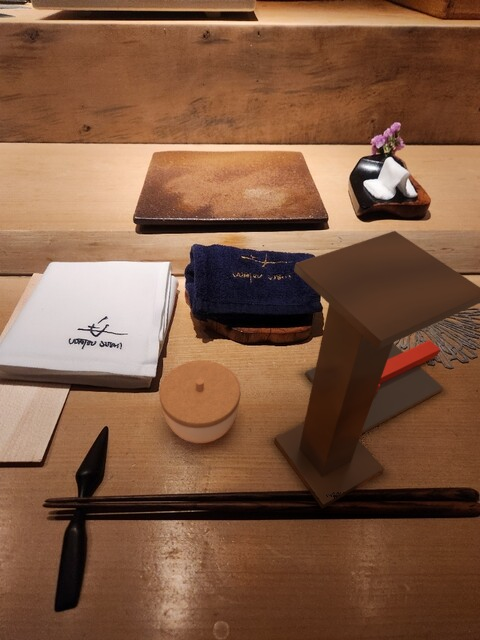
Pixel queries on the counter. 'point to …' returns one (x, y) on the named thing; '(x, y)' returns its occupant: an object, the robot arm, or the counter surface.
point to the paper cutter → (397, 393)
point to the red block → (408, 360)
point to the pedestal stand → (363, 349)
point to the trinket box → (200, 400)
